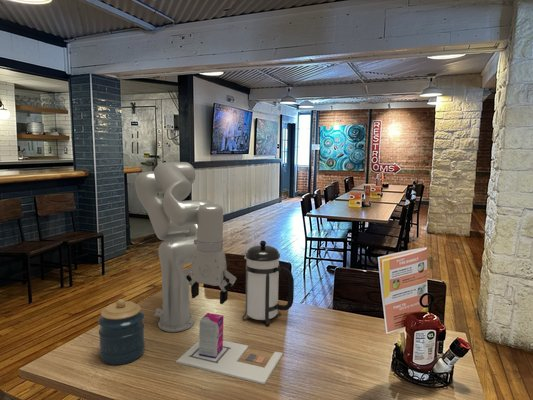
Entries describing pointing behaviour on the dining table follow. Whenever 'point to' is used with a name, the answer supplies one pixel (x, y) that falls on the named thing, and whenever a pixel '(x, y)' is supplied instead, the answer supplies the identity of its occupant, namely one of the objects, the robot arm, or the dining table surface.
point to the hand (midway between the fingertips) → (209, 299)
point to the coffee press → (265, 283)
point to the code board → (231, 362)
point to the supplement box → (211, 335)
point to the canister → (121, 333)
